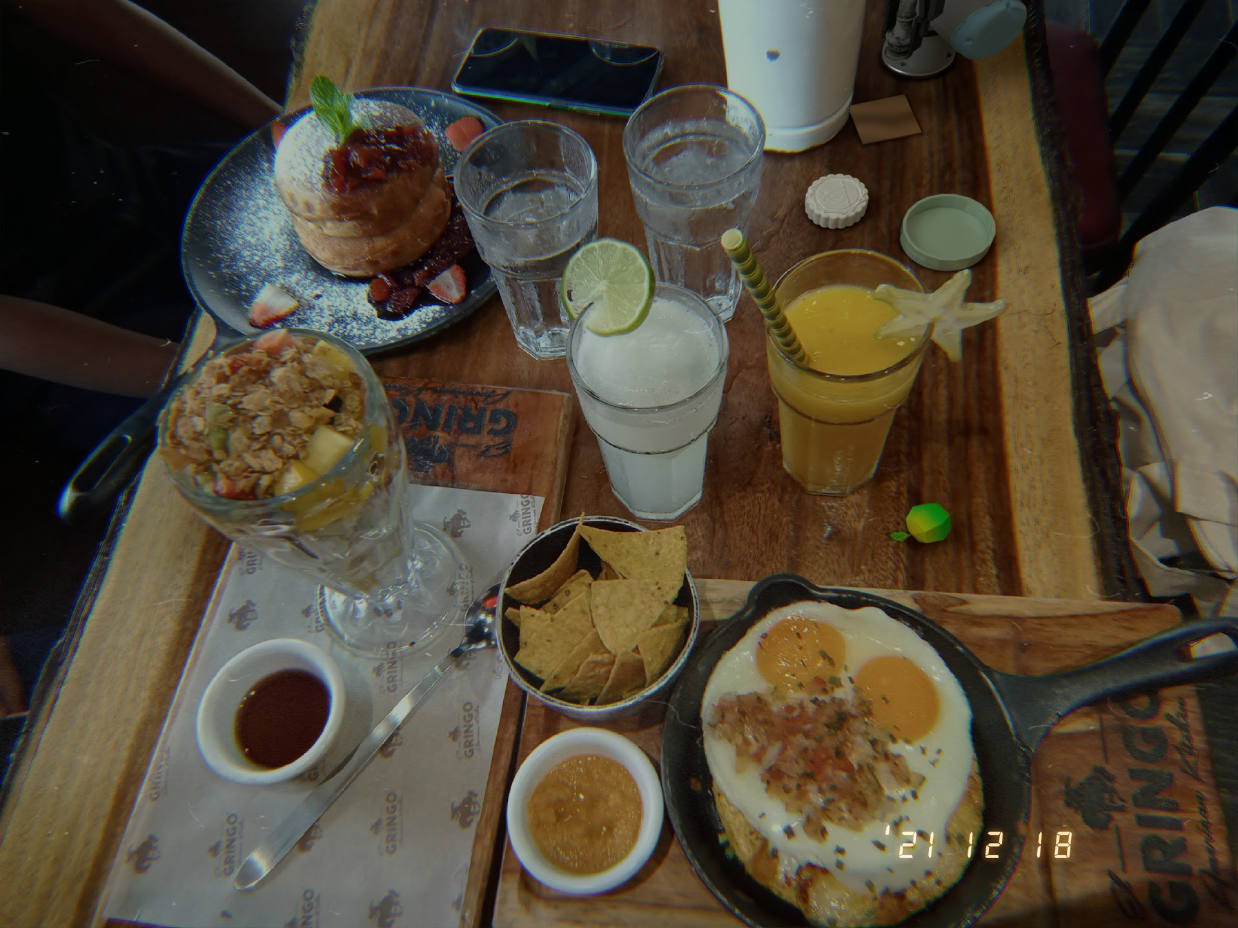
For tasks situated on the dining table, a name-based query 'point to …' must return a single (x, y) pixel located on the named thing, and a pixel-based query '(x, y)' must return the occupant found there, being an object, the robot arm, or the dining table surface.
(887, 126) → the coaster
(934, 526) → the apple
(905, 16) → the grey chess piece
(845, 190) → the mooncake
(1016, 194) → the dining table surface
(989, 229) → the green round tray
